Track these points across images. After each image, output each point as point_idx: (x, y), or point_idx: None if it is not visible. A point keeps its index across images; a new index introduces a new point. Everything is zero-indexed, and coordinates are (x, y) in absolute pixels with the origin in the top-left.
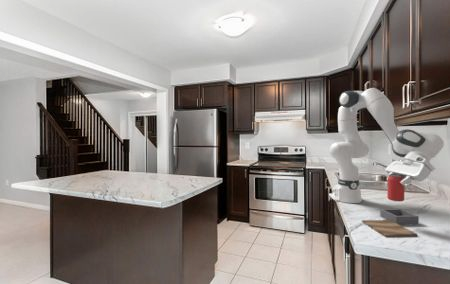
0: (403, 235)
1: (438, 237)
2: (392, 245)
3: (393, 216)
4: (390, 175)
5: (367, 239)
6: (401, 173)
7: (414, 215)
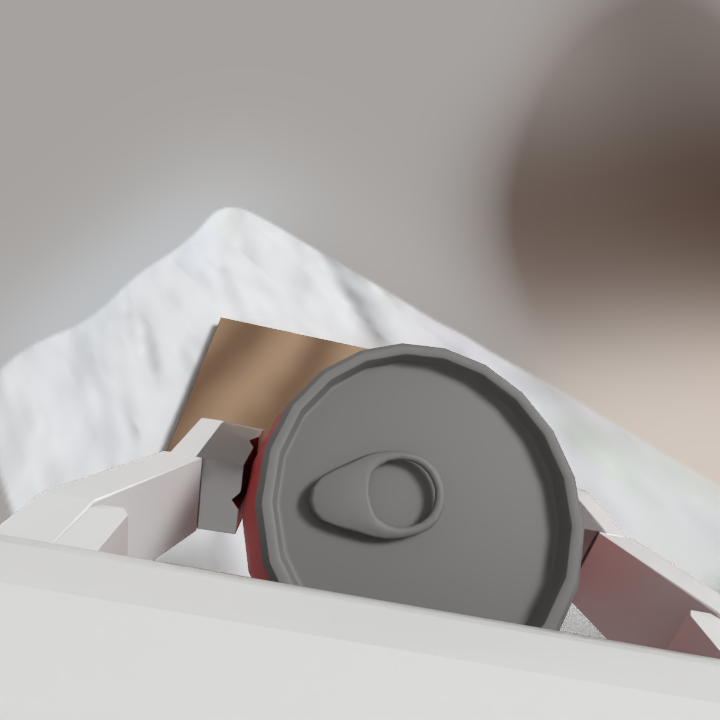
0: (189, 404)
1: None
2: (153, 284)
3: None
4: (443, 354)
5: (233, 244)
6: (323, 593)
7: None
